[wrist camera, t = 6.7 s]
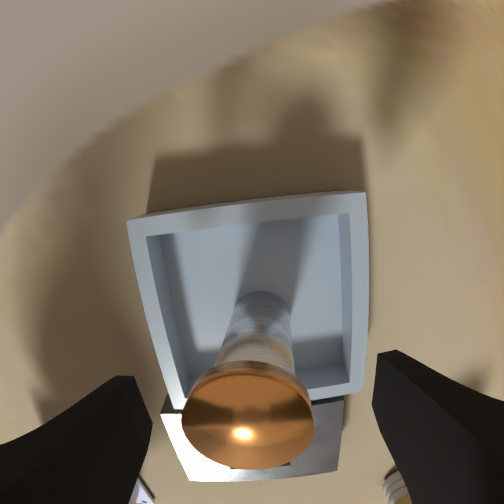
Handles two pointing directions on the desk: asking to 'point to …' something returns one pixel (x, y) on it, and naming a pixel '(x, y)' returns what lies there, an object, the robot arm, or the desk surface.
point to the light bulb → (396, 490)
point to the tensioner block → (308, 463)
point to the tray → (258, 283)
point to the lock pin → (251, 392)
